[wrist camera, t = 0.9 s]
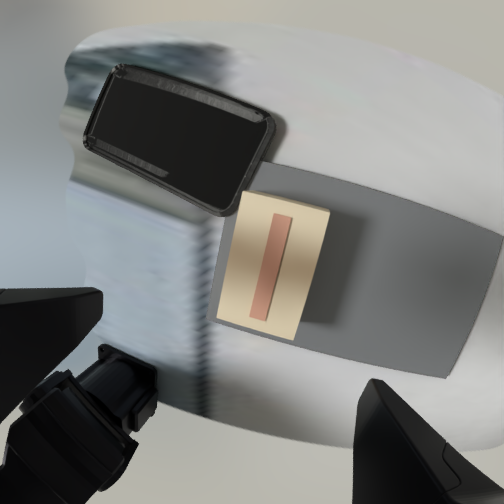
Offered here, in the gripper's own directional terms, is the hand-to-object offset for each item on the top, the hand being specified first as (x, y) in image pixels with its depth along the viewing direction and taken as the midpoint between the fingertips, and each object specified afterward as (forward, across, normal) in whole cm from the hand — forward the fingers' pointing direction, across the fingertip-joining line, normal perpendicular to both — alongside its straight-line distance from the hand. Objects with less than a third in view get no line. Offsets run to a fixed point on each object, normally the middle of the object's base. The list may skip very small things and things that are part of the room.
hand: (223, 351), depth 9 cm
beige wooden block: (+12, 0, 0) cm, 12 cm away
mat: (+13, -6, 0) cm, 14 cm away
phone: (+13, +10, -7) cm, 18 cm away
